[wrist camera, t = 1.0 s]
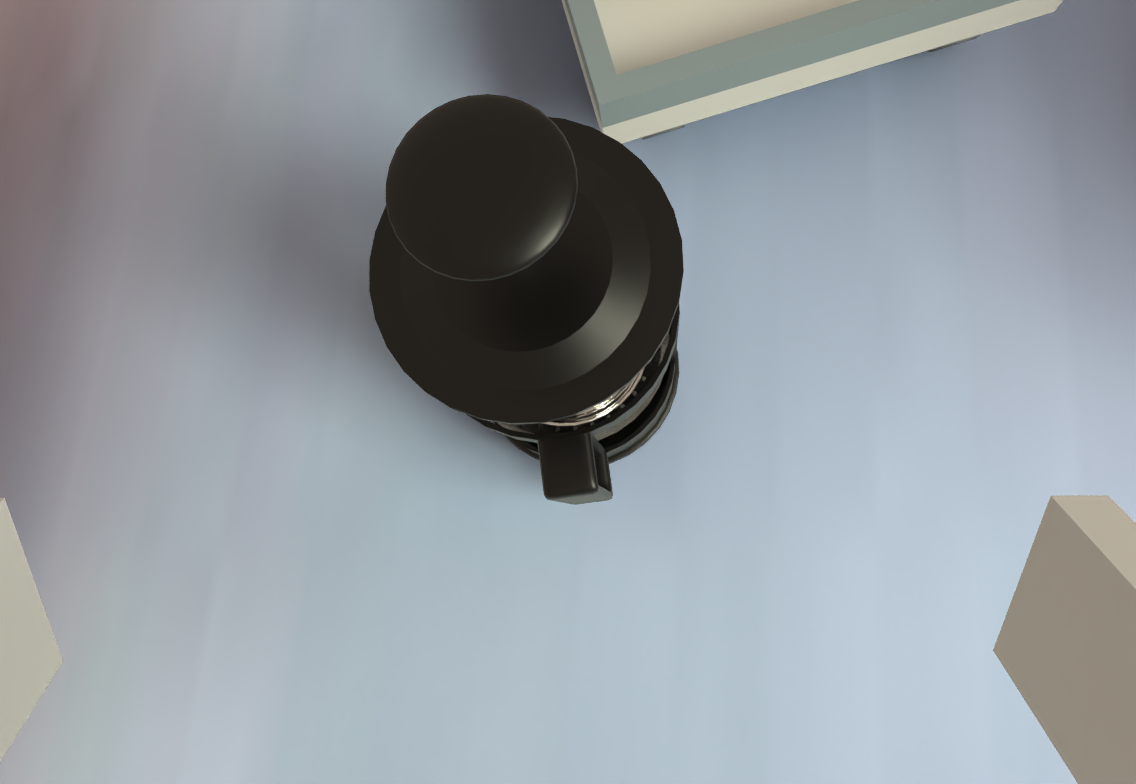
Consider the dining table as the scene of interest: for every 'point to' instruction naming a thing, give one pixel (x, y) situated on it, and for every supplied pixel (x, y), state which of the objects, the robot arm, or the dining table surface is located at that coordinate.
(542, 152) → the french press
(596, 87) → the grey tray with legs
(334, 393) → the dining table surface
